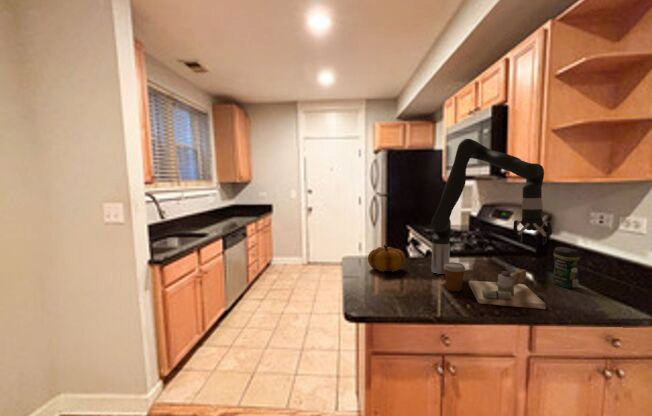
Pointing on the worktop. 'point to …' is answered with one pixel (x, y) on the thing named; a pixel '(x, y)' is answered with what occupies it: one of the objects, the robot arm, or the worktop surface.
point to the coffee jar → (566, 267)
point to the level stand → (505, 295)
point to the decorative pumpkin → (386, 259)
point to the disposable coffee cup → (454, 275)
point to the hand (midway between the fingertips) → (532, 243)
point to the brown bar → (510, 280)
